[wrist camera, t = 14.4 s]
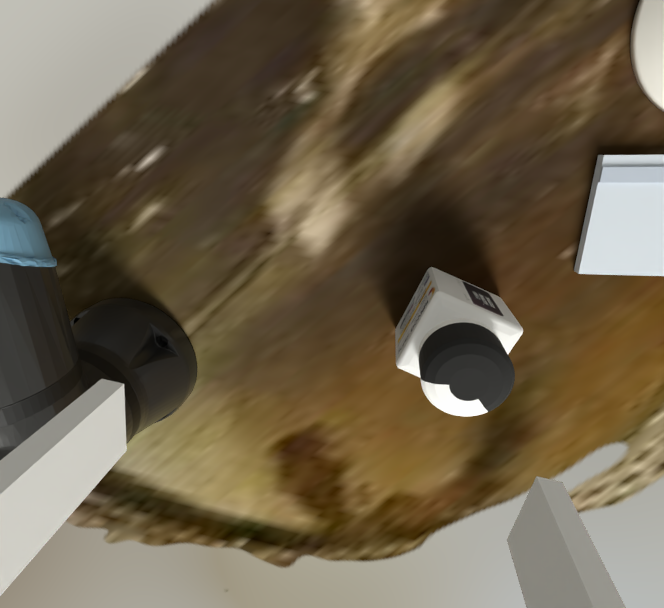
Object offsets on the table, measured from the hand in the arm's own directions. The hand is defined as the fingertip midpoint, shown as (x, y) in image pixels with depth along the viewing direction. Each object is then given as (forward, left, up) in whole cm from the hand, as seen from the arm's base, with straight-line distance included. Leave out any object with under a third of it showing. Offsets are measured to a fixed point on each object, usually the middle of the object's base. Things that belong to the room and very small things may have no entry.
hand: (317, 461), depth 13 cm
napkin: (+26, +8, -29) cm, 40 cm away
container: (+9, -5, -29) cm, 31 cm away
